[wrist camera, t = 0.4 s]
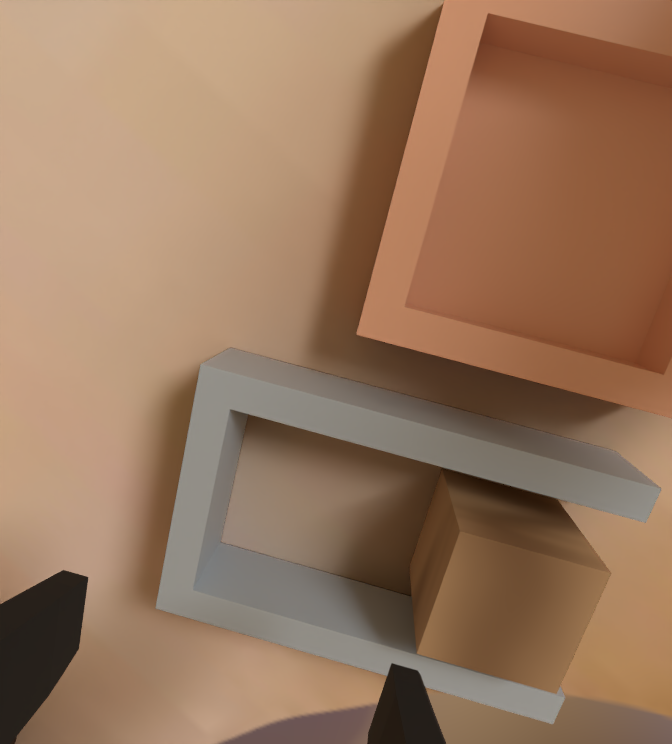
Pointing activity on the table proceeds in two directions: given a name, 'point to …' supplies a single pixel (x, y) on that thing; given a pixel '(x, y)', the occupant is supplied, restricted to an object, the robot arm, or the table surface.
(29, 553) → the table surface
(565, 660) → the walnut cube
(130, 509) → the table surface
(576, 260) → the tray
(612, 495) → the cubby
